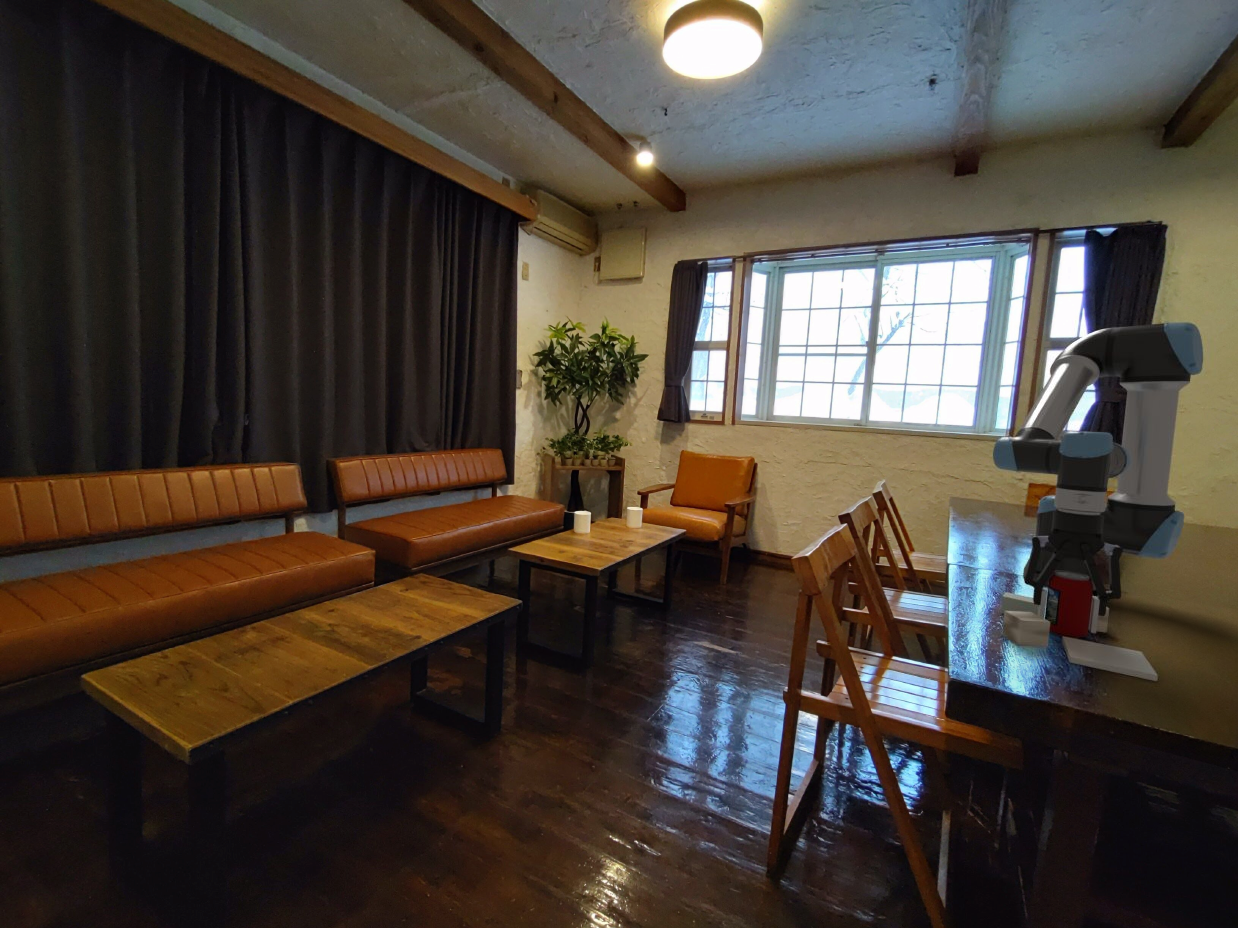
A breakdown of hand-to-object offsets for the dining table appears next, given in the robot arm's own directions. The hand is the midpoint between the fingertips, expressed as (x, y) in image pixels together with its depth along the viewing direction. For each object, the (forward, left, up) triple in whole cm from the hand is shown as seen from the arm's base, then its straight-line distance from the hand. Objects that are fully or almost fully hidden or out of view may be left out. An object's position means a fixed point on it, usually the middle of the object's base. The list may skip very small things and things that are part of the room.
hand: (1065, 625), depth 107 cm
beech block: (-8, +4, -2) cm, 9 cm away
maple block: (+10, -7, -2) cm, 12 cm away
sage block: (-7, -7, -2) cm, 10 cm away
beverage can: (0, 0, -2) cm, 2 cm away
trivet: (+11, +4, -2) cm, 12 cm away
